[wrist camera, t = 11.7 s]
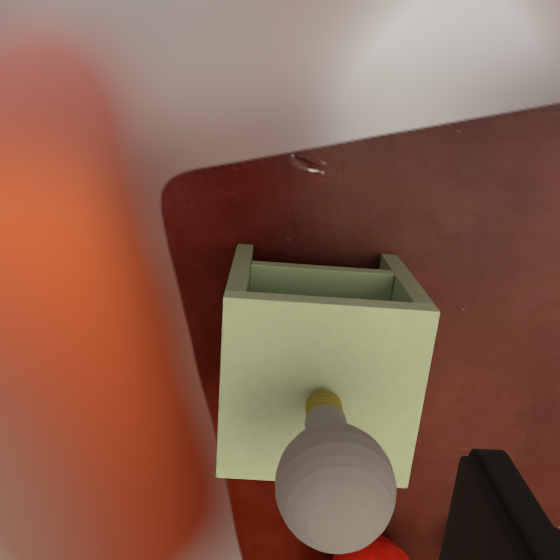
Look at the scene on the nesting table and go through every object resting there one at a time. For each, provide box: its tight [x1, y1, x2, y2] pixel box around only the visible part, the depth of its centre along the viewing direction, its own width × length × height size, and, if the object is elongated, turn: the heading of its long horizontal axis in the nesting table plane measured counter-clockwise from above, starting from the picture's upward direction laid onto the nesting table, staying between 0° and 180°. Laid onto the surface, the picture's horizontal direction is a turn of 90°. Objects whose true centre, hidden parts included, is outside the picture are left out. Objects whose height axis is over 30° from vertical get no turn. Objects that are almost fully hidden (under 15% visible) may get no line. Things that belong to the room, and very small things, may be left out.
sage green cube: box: [216, 244, 440, 488], centre depth 36 cm, size 12×12×11 cm
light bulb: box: [275, 390, 397, 554], centre depth 26 cm, size 6×6×10 cm
